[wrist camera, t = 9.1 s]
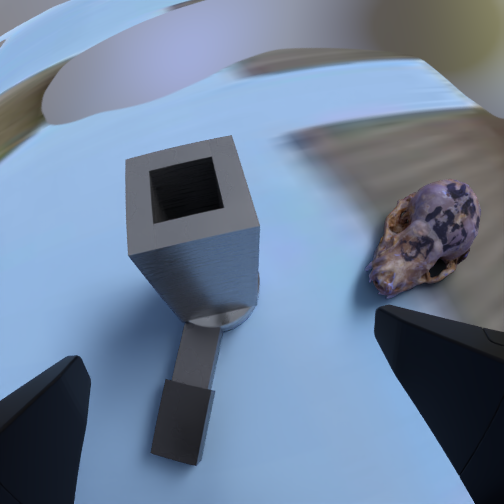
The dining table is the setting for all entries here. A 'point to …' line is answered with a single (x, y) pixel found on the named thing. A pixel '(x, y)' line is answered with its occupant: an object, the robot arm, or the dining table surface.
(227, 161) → the socket
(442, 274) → the skull
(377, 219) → the dining table surface
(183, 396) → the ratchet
